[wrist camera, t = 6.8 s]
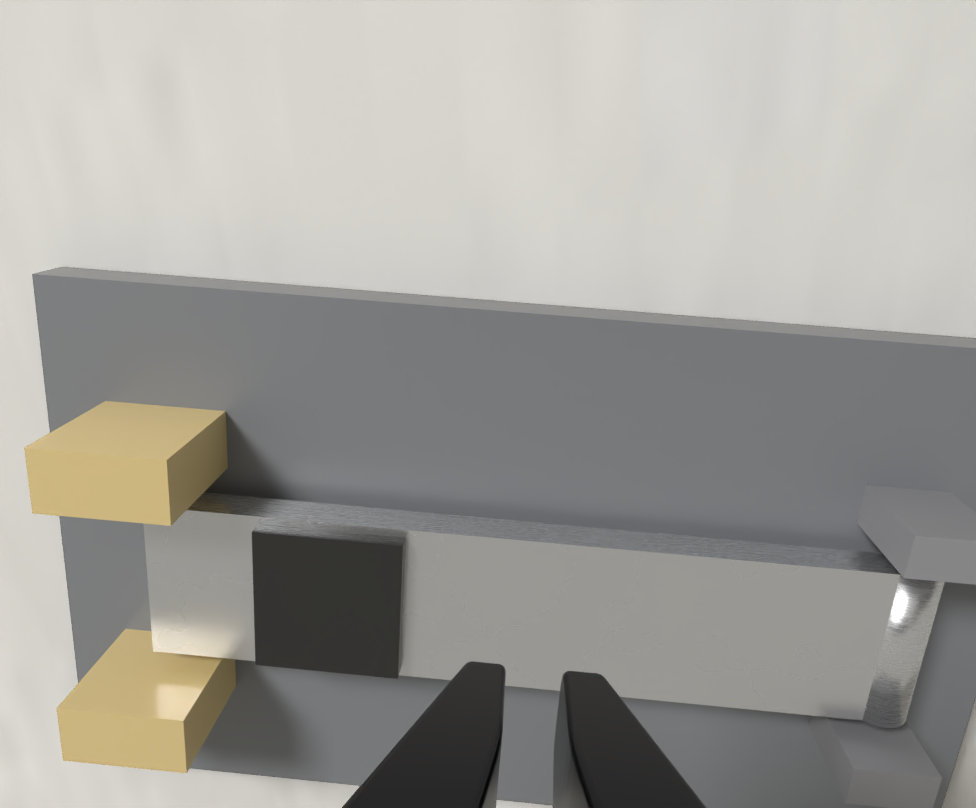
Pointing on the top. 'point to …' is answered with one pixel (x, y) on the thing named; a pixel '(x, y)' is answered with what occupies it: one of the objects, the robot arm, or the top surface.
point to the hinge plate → (493, 502)
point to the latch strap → (540, 605)
